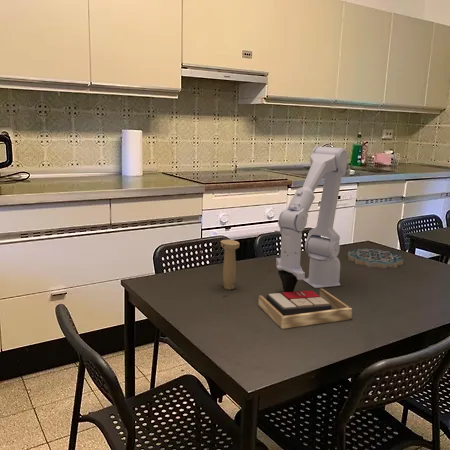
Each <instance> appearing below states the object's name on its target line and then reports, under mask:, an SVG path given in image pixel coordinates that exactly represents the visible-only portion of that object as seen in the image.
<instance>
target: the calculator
mask: <svg viewBox="0 0 450 450" xmlns="http://www.w3.org/2000/svg"><path fill="white" fill-rule="evenodd" d="M319 295H320V294H317V293H316V292H315V291H313V290H299V291H294V292H284V291H282V292H280V293H279V292H278V293H268V294H266V298H265V299H266V300H267V301H268V302H269V303H270V304H271V305H273V306H274V307H275V308H276V309H277V310H278V311H279V312H280V313H281V314H282V315H283V316H287V315H295V314H303V313H310V312H318V311H326V310H332V307H331V305H330V304H329V302H327V301H326V300H324V299H323V298H321V297H320V296H319Z"/></svg>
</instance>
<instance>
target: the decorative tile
mask: <svg viewBox="0 0 450 450" xmlns="http://www.w3.org/2000/svg"><path fill="white" fill-rule="evenodd" d="M347 256H348V258H347V259H348V261H352V262H355V264H356V265H363V266H366V267H367V268H380V269H388V268H397V269H398V266H401V265H402V266H403V264H404V259H403V258H402V255H401V254H398V253H394V252H393V251H391V250H384V249H381V248H369V247H365V248H354V250H348V252H347Z"/></svg>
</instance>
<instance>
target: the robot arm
mask: <svg viewBox="0 0 450 450" xmlns="http://www.w3.org/2000/svg"><path fill="white" fill-rule="evenodd" d="M309 157H310V161H309V162H310V168H309V170H308V172H307V175H306V177H305V180H304V183H303V184H302V187H299V188H297V189H296V191H295V193H294V195H293V197H292V198H291V200H290V203H289V204H288V207H287V208H286V209H285V210H282V211H281V212H280V213H279V217H278V219H277V225H278V227H279V233H280V235H281V240H280V244H281V245H280V257H276V258H275V259H276V262H275V265H276V268H277V270H278V272H277V273H278V276H279V277H280V281H281V285H282V290H283V291H282V292H295V289H296V285H297V283H298V281H302V280H303V281H304V282H305V283H306V284H308V285H310V286H311V287H313V288H314V289H321V288H322V289H323V288H329V287H338V286H341V283H340V278H341V276H340V275H341V261H340V259H339V257H338V256H339V253H340V249H341V248H340V247H341V245H340V240H341V239H340V238H341V237H340V235H339V234H338V233H337V232H336V230H335V229H334V224H335V217H336V212H337V206H338V201H339V200H338V199H339V193H340V188H341V182H342V177H344V176H345V175H346V173H347V167H348V162H349V155H348V152H347V150H346V148H344V147H331V146H330V147H329V146H320V145H317V146H315V147H314V148H313V149H312V150H311V154H310V156H309ZM323 178H324V180H323V187H322V191H321V192H322V193H321V198H320V203H319V204H320V205H319V211H318V216H317V223H316V226H315V227H314V228H312V229H310V230H308V234H307V238H306V240H305V242H304V249H305V252H306V253H307V254H308V255H307V257H309V268H308V277H307V278H306V276H305V275H306V272H305V271H304V270H303V268H302V266H301V253H302V252H301V251H302V250H301V249H302V237H303V231H304V230H305V228H306V227H307V225H308V217H309V213H308V212H309V210H310V208H311V206H312V204H313V203H314V200H315V198H316V196H315V194H314V193H315V190H316V189H317V187H318V185H319V184H320V182H321V181H322V179H323Z"/></svg>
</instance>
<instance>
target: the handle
mask: <svg viewBox="0 0 450 450" xmlns="http://www.w3.org/2000/svg"><path fill="white" fill-rule="evenodd" d="M220 246H221V248H223V249H224V253H223V254H224V255H223V256H224V257H223V268H222V278H223V279H222V280H223V286H224V289H225V290H228V291H229V290H234V288H235V282H236V274H237V273H236V270H237V269H236V251H237V249H240V242H239V241H237V240H233V239H223V240H220Z"/></svg>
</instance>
